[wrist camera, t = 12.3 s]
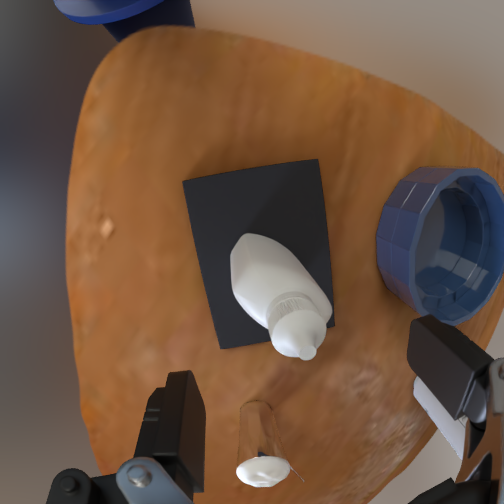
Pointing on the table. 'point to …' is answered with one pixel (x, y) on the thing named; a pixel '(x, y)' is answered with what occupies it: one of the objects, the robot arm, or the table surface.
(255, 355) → the table surface
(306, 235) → the mat
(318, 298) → the eye dropper bottle
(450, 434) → the energy drink can
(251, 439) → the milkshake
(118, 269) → the table surface
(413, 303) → the bowl
